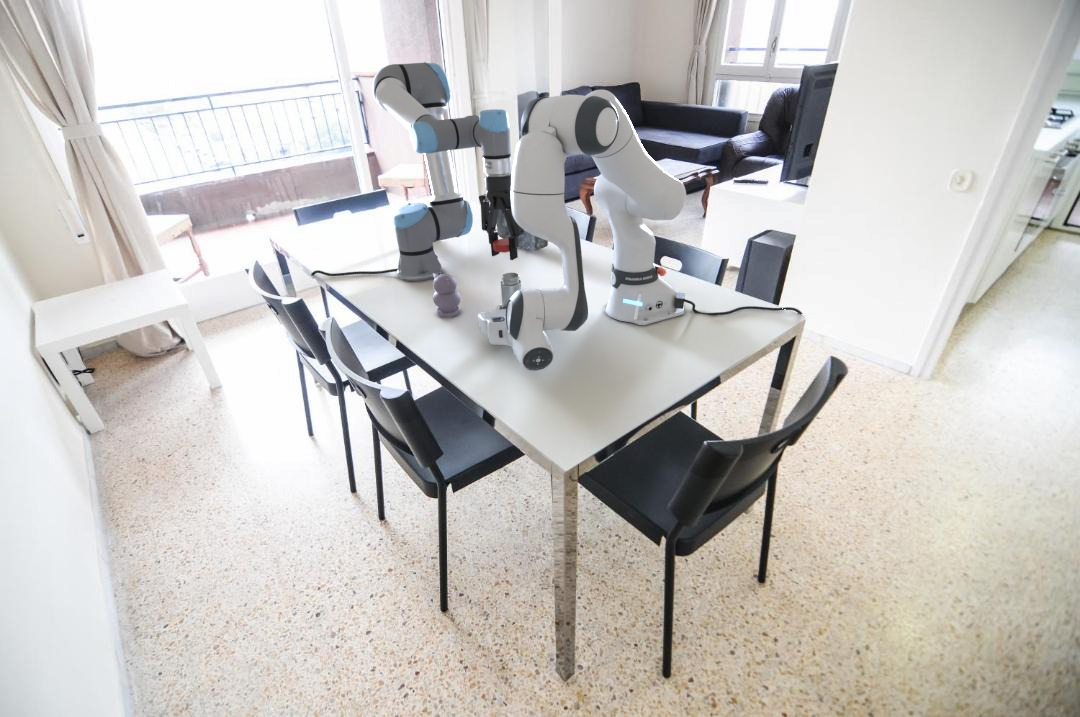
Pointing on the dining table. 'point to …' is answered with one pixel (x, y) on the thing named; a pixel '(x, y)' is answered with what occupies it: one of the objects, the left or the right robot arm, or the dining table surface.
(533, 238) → the concrete block
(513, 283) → the grey cylinder
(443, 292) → the cat figurine
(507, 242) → the lid
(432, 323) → the dining table surface
